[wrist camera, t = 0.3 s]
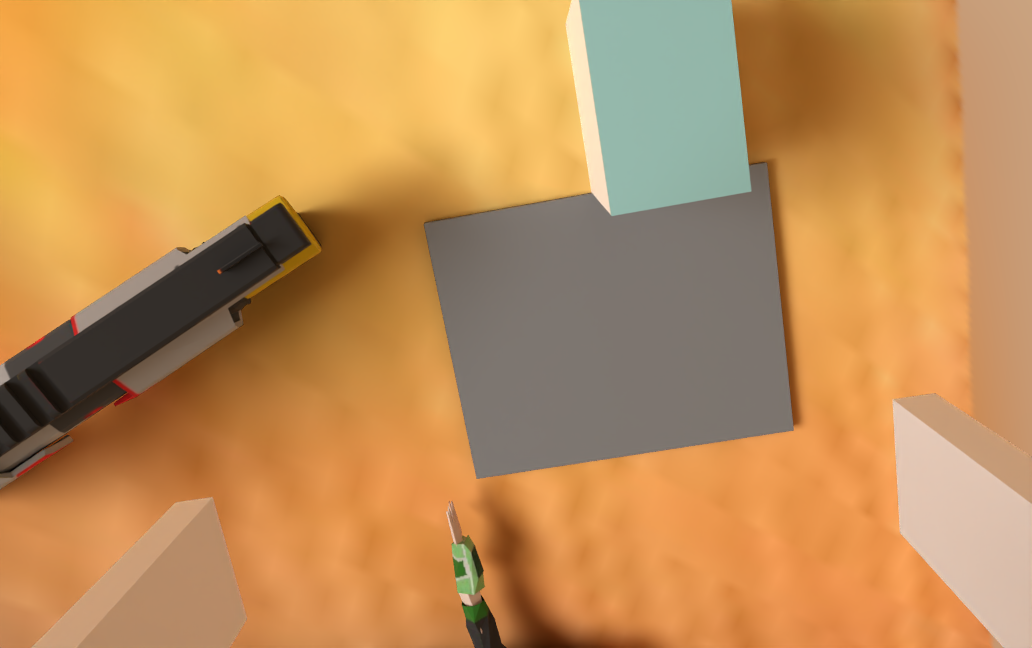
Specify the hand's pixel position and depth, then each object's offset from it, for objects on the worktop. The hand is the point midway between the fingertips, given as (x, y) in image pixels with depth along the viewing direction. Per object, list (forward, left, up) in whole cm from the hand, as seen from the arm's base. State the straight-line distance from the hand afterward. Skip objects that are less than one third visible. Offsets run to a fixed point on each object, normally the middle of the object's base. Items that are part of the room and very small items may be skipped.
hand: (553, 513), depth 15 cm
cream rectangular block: (-8, +5, -25) cm, 27 cm away
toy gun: (0, -23, -26) cm, 34 cm away
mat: (+3, +3, -25) cm, 26 cm away
